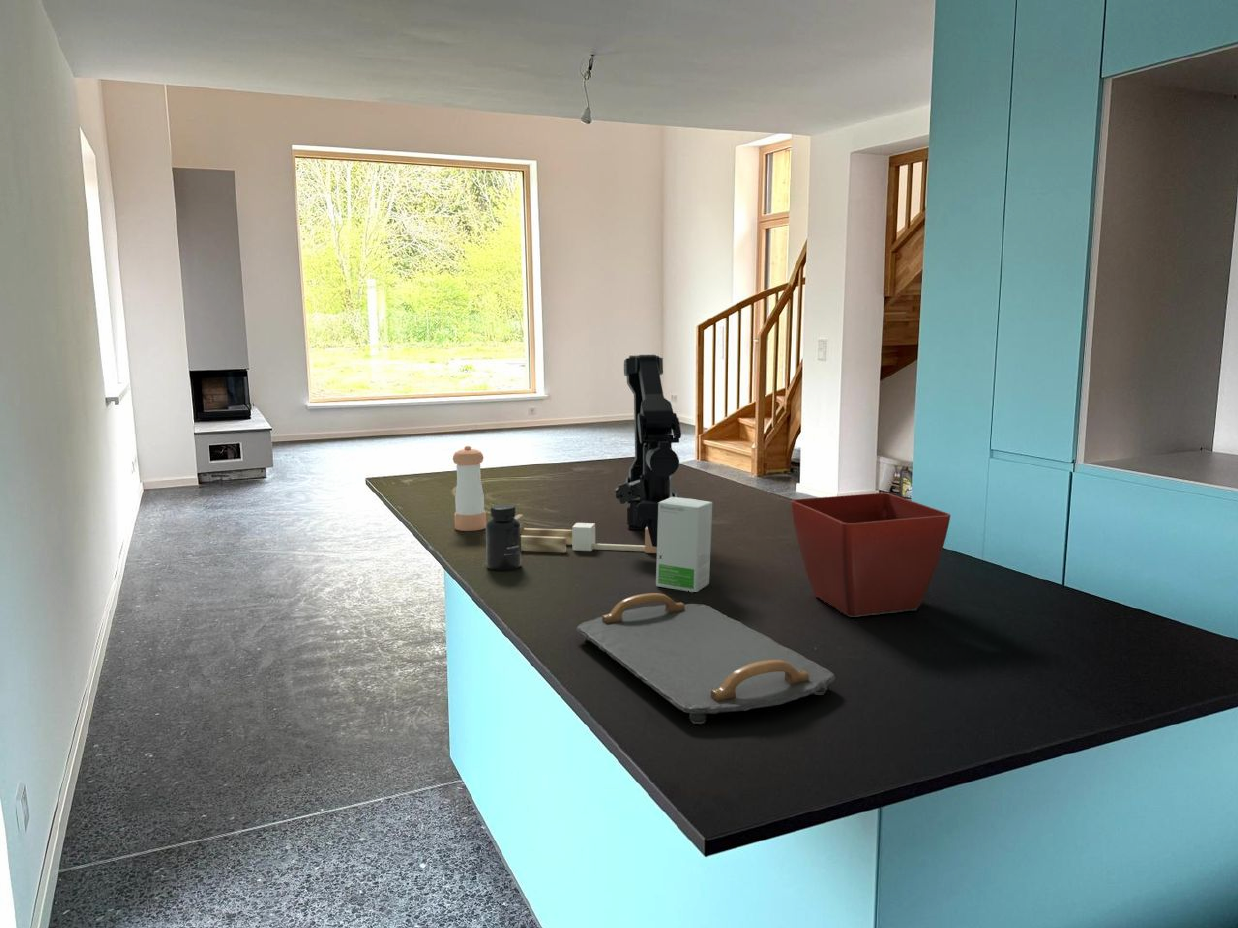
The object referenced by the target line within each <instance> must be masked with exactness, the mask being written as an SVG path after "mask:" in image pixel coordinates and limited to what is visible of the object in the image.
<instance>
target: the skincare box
mask: <svg viewBox="0 0 1238 928" xmlns="http://www.w3.org/2000/svg"><path fill="white" fill-rule="evenodd" d="M712 518H713V501H708V500H702V499H701V500H700V499H694V498H688V497H687V498H686V497H678V496H677V497H670V498H668V499H666V500H663V501H661V502H659V503H658V532H657V553H656V563H655V564H656V567H655V570H656V571H655V572H656V573H655V586H656V587H659V588H666V589H673V590H676V591H684V592H688V591H689V593H693V592H697V593H699V591H701V590H702V589H703V588H706V587H707V586H708V585H710V567H711V566H710V565H711V542H712V520H713V519H712Z"/></svg>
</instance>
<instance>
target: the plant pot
mask: <svg viewBox="0 0 1238 928" xmlns="http://www.w3.org/2000/svg"><path fill="white" fill-rule="evenodd" d="M790 503H791V511H792V512H791V513H792V518H793V523H794V529H795V533H796V534H795V535H796V539H797V544H798V547H799V552H800V555H801V558H802V563H803V566H804V569H805V572H806V575H807V577H808V578H807V579H808V582H809V584H810V587H811V590H812V592H813V595H814V597H815V596H816V597H815V598H817V597H818V598H820V599H821V600H823V601H825V602H826V603H828V604H829V605H828V604H827V605H828V606H830V605H831V606H833V607H835V608H836V609H838V610H840V611H841V612H843V613H845V614H847V615H850V616H851V615H852V616H857V615H865V614H872V613H881V612H890V611H899V610H906V609H914V608H918V607H919V608H920V606H921V604H922V602H923V600H924V598H925V596H926V594H927V591H928V588H929V586H930V584H931V582H932V579H933V577H934V575H935V573H936V572H935V571H936V569H937V567H938V564H939V561H940V558H941V555H942V552H943V548H944V544H945V540H946V537H947V533H948V530H949V524H950V519H951V514H950V513H947V512H946V511H943V510H940V509H936V508H934V507H930V506H928V505H925V504H921V503H919V502H917V501H913V500H911V499H907V498H904V497H901V496H899V495H895V494H892V493H889V492H875V493H874V492H873V493H862V494H849V495H848V494H847V495H835V496H834V495H833V496H822V497H821V496H819V497H809V498H798V499H797V498H796V499H791V501H790ZM818 598H817V599H818ZM820 599H819V600H820ZM821 600H820V601H821ZM823 601H822V602H823ZM825 602H824V603H825ZM826 603H825V604H826ZM831 606H830V607H831ZM833 607H832V608H833ZM919 608H918V609H919ZM836 609H835V610H836ZM841 612H840V613H841Z"/></svg>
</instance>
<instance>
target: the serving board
mask: <svg viewBox="0 0 1238 928" xmlns="http://www.w3.org/2000/svg"><path fill="white" fill-rule="evenodd" d="M653 602H654V603H655V602H659V603H664V604H661V605H655V606H654V605H652V606H644V607H643V606H642V607H637V608H632V607H634V606H637V605H642V604H646V603H653ZM629 608H631V609H629ZM575 629H576V631H577V632H578V633H579V634H580V635H582V636H583V639H584V641H585V640H586V641H590V642H589V643H592V644H594V645H595V646H596V647H598V649H599V650H601V651H603V652H605V653H606V654H607V655H608V657H609V656H610V657H611V659H613V660H614V661H616V662H617V663H619V665H621V666H622V667H624V668H625V669H627V671H628V672H630V673H631V674H633V675H634V676H635V677H636V678H637V679H639V680H641V681H642V682H643V684H646V685H647V686H648V687H650V688H651V689H652V690H653V691H654V692H656V693H657V694H659V695H660V696H662V698H664V699H665V700H667V702H670V704H672V705H673V706H675V708H676V709H678V710H681V711H682V713H686V714H689V715H688V719H690V720H692V721H694V722H703V721H705V720H706V719H708V716H707V715H708V714H713V715H714V714H715V715H716V714H719V713H732V712H745V711H751V710H754V709H760V708H761V709H762V708H767V707H768V708H769V707H774V706H775V707H776V706H778V705H779V706H780V705H783V704H787V703H789V702H792V701H796V700H799V699H802V698H804V697H807V696H810V695H813V693H815V692H824V691H826V690H828V687H827V686H829V685H830V684H831V685H832V683H833V682H834V681H835V679H836V677H835V675H834V673H833V672H832V671H830V670H829V669H828V668H825V667H823V666H821V665H819V664H818V663H817V662H814V661H812V660H810V659H808V658H806V657H805V656H804V655H801V654H800V653H798V652H796V651H794V650H793V649H790V648H788V647H786V646H783V645H782V644H779V643H778V642H776V641H775V640H773V639H772V638H771V637H770V636H766V635H765V634H763V633H761V632H759V631H756V630H755V629H752V628H750V627H748V626H746V625H745V624H743V623H742V622H741V621H738V620H736V619H734V618H733V617H728V615H727V614H723V613H722V612H721V611H719V610H716V609H715V608H712V606H708V605H706V604H700V603H687V604H684V603H683V602H675V600H673V599H672V598H671V597H669V596H668V595H667V594H664V593H659V592H649V593H642V594H636V595H632V596H629V597H626V598H624V599H622V600H621V601H619V602H618V603H617V604H616V605H615V606H614V607H613V608H612V610H611V611H610V612H609V613H607V614H603V615H601V616H598V617H595V618H593V619H590V620H587V621H584V622H582V623H580V624H578V625H577V627H576V628H575ZM586 641H585V642H586ZM690 720H689V721H690ZM706 721H707V720H706Z"/></svg>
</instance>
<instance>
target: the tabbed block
mask: <svg viewBox="0 0 1238 928" xmlns="http://www.w3.org/2000/svg"><path fill="white" fill-rule="evenodd" d="M571 530H572V545H571V546H572V551H575V552H576V551H581V552H592V551H593V550H597V551H598V550H600V551H602V550H603V551H624V552H625V551H630V552H632V551H633V552H644V553H645V554H657V547H653V546H652V543H651V539H650V535H649V531H648V527H646V529H645V530H644V545H643V544H642V545H641V544H639V545H638V544H619V543H618V544H617V543H616V544H615V543H613V544H612V543H596V523H593V522H592V523H591V522H576V523H574V524H573V526H572V527H571Z"/></svg>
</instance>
